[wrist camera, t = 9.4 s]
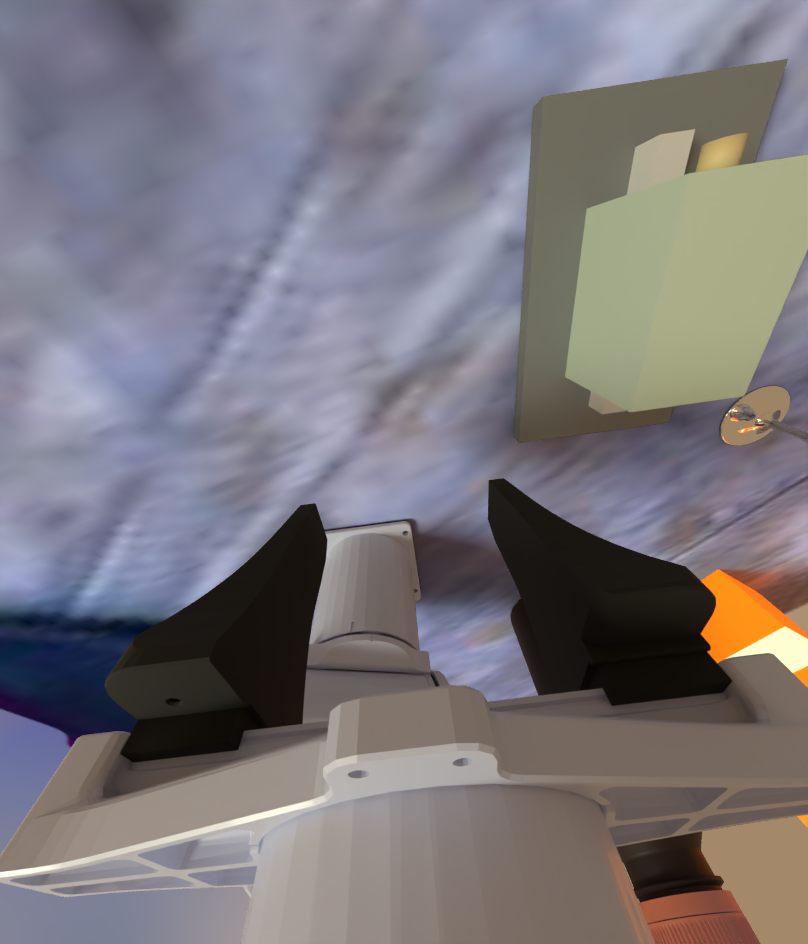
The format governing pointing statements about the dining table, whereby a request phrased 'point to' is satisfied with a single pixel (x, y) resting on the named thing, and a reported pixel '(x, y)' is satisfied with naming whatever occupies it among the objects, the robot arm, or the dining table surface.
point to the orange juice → (752, 628)
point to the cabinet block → (688, 280)
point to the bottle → (663, 861)
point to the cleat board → (601, 180)
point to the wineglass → (758, 417)
